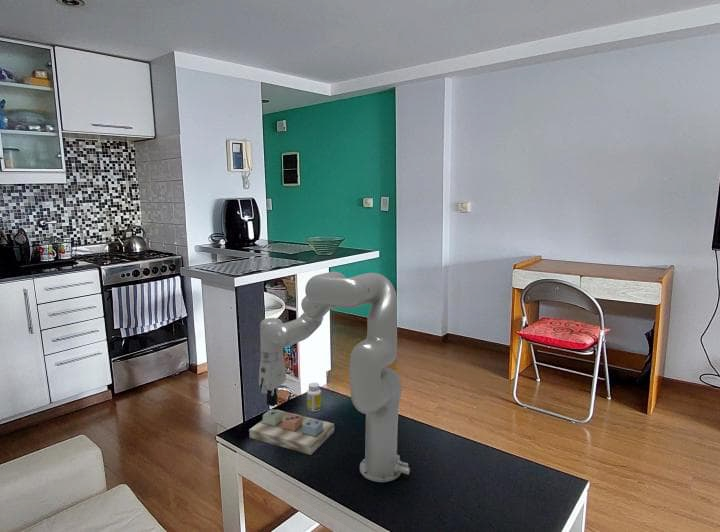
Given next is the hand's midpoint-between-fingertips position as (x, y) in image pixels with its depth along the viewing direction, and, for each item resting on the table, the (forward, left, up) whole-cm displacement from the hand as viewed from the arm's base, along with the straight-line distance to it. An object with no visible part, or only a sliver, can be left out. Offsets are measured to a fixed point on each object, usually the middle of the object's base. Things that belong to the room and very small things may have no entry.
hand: (272, 404), depth 160 cm
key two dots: (-16, 0, -6) cm, 18 cm away
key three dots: (-8, 0, -6) cm, 10 cm away
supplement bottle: (-5, -20, -9) cm, 23 cm away
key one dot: (0, 0, -6) cm, 6 cm away
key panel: (-8, 0, -9) cm, 12 cm away
